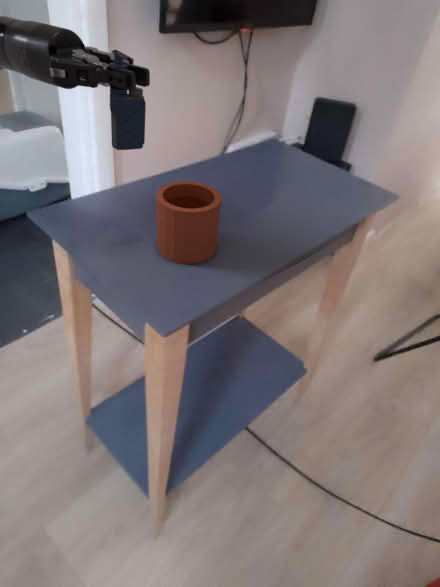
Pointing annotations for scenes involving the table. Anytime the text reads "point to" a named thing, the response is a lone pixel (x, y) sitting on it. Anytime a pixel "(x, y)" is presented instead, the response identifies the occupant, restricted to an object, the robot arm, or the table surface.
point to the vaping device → (127, 115)
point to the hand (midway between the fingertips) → (140, 79)
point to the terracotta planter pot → (187, 221)
